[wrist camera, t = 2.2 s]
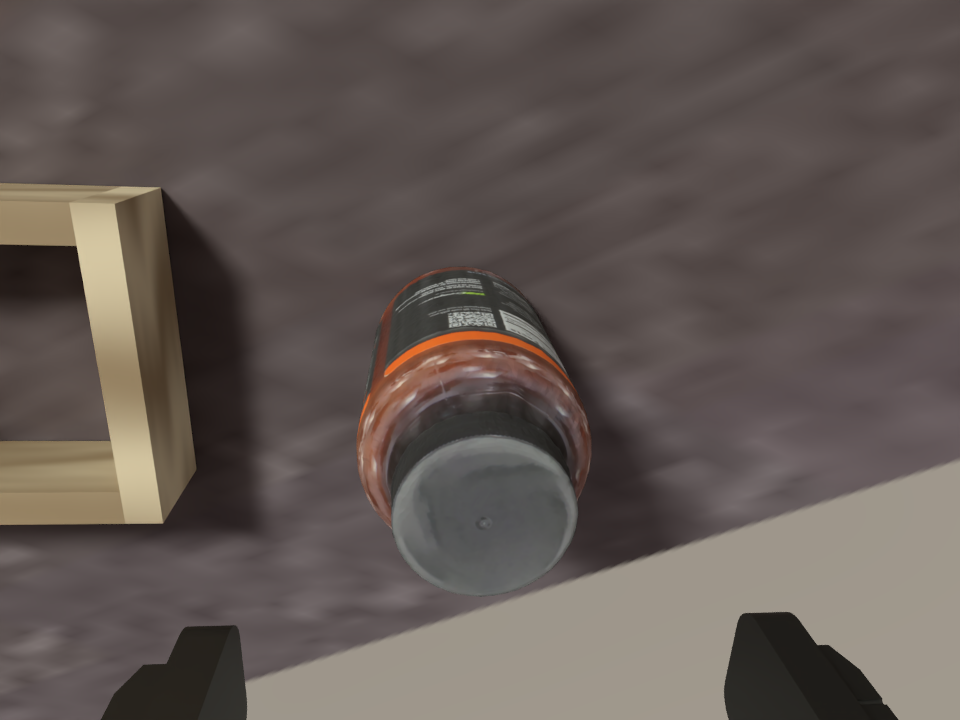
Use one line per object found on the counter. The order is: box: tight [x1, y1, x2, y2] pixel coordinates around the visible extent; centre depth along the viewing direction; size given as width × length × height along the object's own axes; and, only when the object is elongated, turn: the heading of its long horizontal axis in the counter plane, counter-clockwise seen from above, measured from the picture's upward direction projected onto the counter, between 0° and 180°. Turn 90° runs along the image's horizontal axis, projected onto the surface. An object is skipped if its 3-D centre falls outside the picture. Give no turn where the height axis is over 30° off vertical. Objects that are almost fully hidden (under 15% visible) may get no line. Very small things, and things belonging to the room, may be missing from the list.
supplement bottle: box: [357, 267, 592, 597], centre depth 20 cm, size 6×6×11 cm
